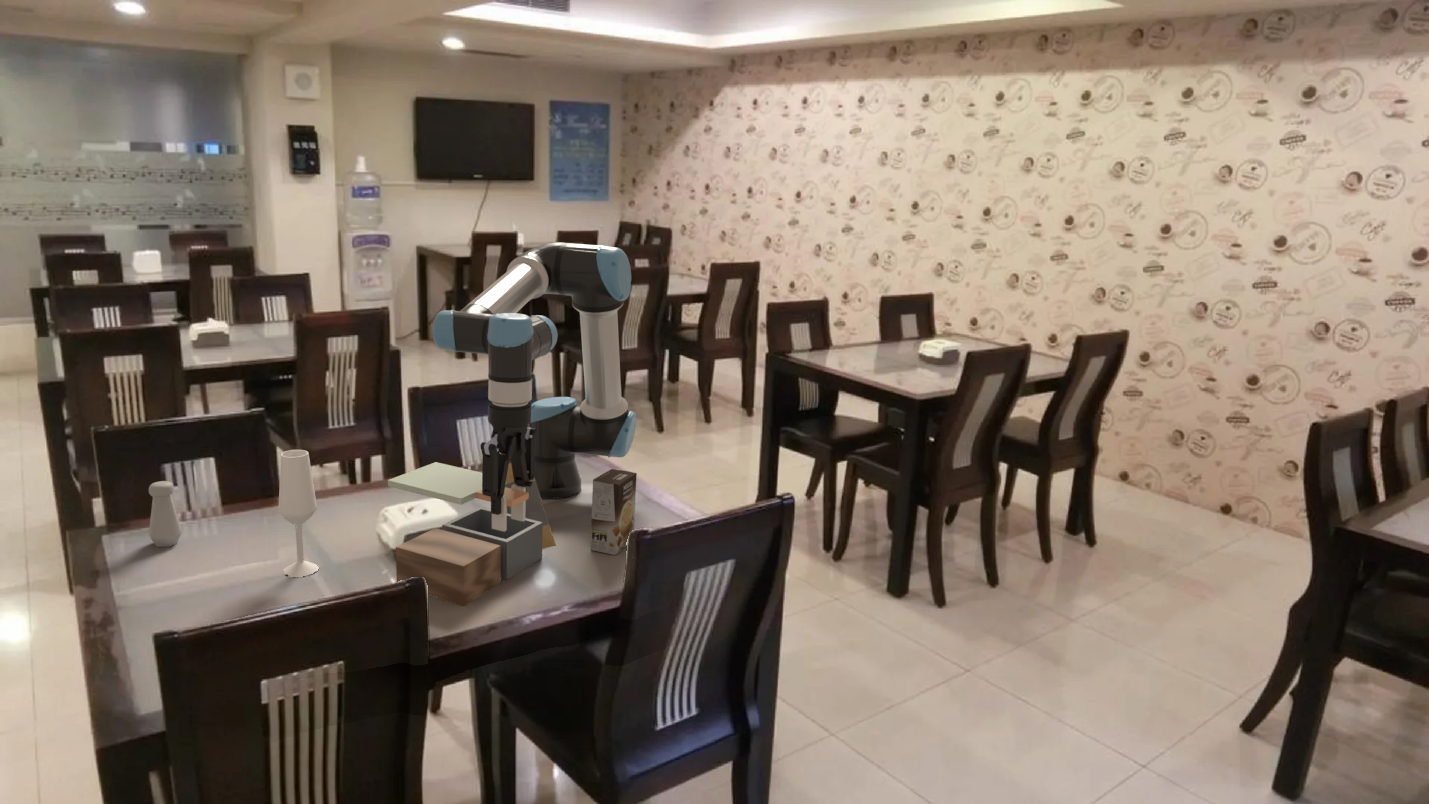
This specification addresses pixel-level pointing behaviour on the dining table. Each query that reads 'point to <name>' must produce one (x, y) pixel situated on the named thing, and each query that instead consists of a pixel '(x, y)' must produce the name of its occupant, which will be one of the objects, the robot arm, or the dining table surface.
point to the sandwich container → (533, 508)
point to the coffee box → (612, 510)
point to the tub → (503, 538)
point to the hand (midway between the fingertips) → (508, 524)
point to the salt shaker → (163, 515)
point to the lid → (450, 484)
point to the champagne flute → (297, 503)
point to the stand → (450, 565)
